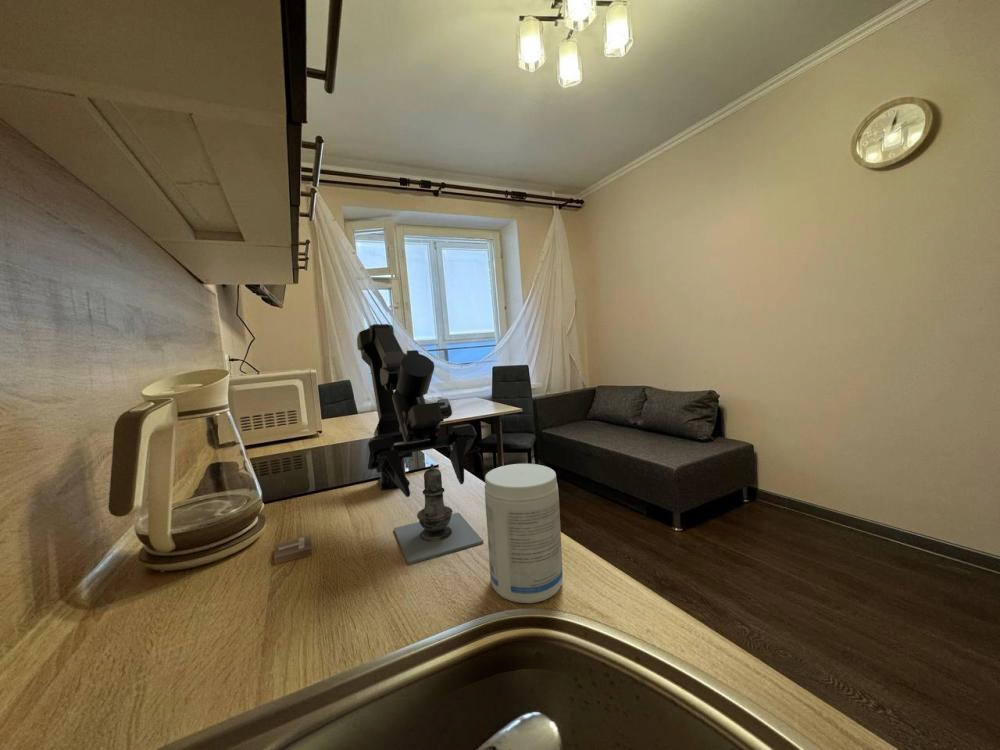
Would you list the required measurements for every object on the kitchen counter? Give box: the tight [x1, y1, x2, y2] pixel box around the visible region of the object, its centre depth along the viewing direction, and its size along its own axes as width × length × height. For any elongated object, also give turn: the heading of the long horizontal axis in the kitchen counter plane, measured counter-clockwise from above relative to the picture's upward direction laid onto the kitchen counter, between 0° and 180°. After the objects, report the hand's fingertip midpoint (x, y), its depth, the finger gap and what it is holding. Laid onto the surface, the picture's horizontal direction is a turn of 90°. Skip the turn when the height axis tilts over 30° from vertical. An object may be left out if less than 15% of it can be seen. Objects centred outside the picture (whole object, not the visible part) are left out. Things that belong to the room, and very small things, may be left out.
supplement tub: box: [484, 463, 564, 604], centre depth 49 cm, size 10×10×15 cm
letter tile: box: [273, 534, 313, 565], centre depth 60 cm, size 5×5×2 cm
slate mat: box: [393, 512, 484, 565], centre depth 63 cm, size 12×12×1 cm
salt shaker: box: [416, 463, 453, 542], centre depth 62 cm, size 6×6×12 cm
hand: (436, 489), depth 61 cm, fingers open, 9 cm apart
